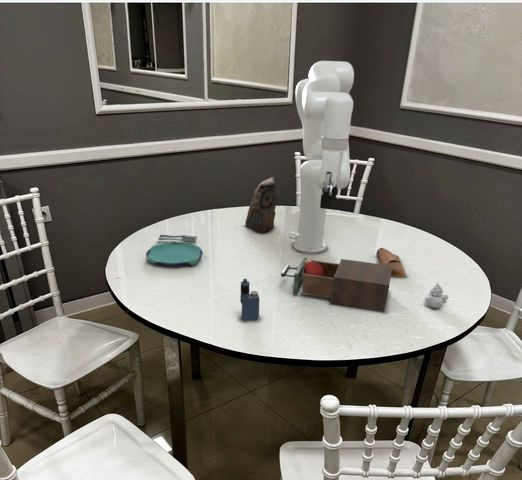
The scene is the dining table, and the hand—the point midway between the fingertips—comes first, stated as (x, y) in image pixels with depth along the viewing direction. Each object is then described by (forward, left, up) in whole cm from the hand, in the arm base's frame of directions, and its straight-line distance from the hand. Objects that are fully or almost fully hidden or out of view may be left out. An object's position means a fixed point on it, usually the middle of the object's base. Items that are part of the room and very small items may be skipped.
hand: (328, 203), depth 145 cm
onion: (+5, -11, -21) cm, 24 cm away
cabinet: (+17, -7, -24) cm, 30 cm away
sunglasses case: (+17, +22, -24) cm, 37 cm away
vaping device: (-4, -38, -24) cm, 45 cm away
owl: (-42, +30, -24) cm, 57 cm away
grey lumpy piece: (+38, 0, -24) cm, 45 cm away
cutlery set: (-52, -12, -24) cm, 59 cm away
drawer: (+3, -11, -23) cm, 26 cm away
